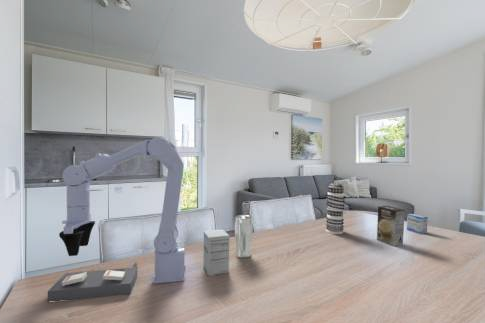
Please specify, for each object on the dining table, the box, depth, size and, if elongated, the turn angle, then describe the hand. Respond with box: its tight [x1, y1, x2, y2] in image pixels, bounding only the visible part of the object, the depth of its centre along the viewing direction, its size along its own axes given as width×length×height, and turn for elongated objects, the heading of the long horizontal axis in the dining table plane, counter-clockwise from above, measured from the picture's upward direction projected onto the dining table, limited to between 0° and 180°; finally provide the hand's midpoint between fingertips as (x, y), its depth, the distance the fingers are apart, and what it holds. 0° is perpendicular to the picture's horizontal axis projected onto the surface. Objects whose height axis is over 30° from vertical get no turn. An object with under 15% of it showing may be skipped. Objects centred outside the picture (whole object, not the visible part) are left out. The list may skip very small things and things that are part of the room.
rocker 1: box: [61, 271, 87, 286], centre depth 68 cm, size 5×3×1 cm, turn 103°
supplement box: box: [203, 228, 230, 276], centre depth 84 cm, size 7×7×13 cm
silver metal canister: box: [234, 214, 253, 259], centre depth 96 cm, size 7×7×15 cm
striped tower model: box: [325, 182, 346, 235], centre depth 128 cm, size 9×9×25 cm
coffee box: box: [376, 205, 406, 247], centre depth 113 cm, size 9×6×16 cm
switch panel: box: [47, 262, 138, 302], centre depth 75 cm, size 20×18×3 cm
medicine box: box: [406, 213, 429, 235], centre depth 131 cm, size 8×4×9 cm, turn 25°
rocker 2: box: [103, 269, 125, 280], centre depth 70 cm, size 5×3×1 cm, turn 104°
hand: (78, 250), depth 74 cm, fingers open, 7 cm apart
